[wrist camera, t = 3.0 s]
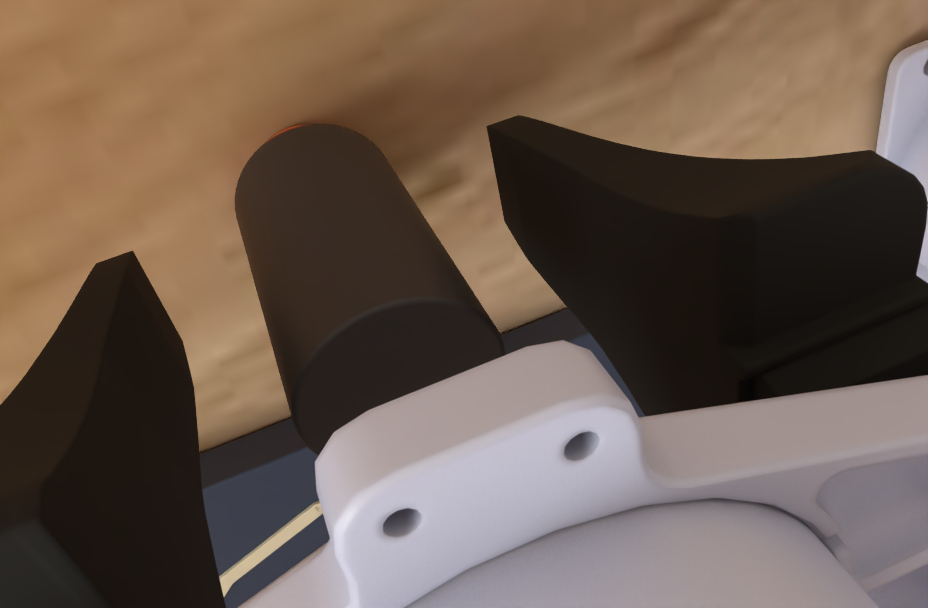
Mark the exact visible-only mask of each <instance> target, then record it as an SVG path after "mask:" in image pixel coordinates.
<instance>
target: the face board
mask: <svg viewBox="0 0 928 608" xmlns="http://www.w3.org/2000/svg"><path fill="white" fill-rule="evenodd" d="M500 336H501V338H502V341H503V344H504V347H505V354H506V355H507V354H510V353H512V352H515V351H517V350H520V349H522V348H525V347H527V346H533V345H539V344H544V343H550V342H555V341H561V340H564V341H566V342H569V343H572V344H575V345H577V346H580V347H583V348H586V349H589V350H590V351H591V352H592V353H593V354H594V356H595V357H596V358H597V360H598V361H599V362H600V363H601V365H602V366H603V367H604V369H605V370H606V371H607V372H608V374H609V375H610V376H611V378H612V379H613V380H614V381H615V383H616V384H617V385H618V387H619V388H620V389H621V390H622V392H623V393H624V394H625V396H626V397H627V398H628V399H629V401H630V402H631V404H632V406H633V408H634V410H635V412H636V414H637V416H638V418H639V417H645V415H644V414H643V412H642V410H641V409H640V407H639V406H638V404H637V402H636V401H635V399H634V398H633V396H632V394H631V393H630V391H629V389H628V388H627V386H626V385H625V383H624V382H623V380H622V379H621V377H620V376H619V374H618V373H617V371H616V369H615V368H614V366H613V365H612V363H611V362H610V360H609V359H608V357H607V356H606V354H605V353H604V351H603V350H602V348H601V347H600V346H599V345H598V343H597V342H596V341H595V339H594V338H593V337H592V335H591V334H590V333H589V332H588V330H587V329H586V328H585V327H584V326H583V325H582V323H581V322H580V321H579V320H578V319H577V318H576V316H575V315H574V314H573V313H572V312H571V310H570V309H569V308H567V309H565V310H562V311H560V312H557V313H555V314H552V315H550V316H547V317H545V318H542V319H540V320H537V321H535V322H532V323H529V324H527V325H524V326H522V327H519V328H517V329H514V330H512V331H509V332H507V333H504V334H502V335H500ZM199 455H200V468H201V481H202V492H203V499H204V507H205V513H206V518H207V523H208V528H209V533H210V538H211V542H212V547H213V552H214V557H215V561H216V566H217V570H218V574H219V579H220V583H221V587H222V592H223V596H224V601H225V605H226V608H237V607H239V606H240V605H242V604H243V603H244V602H246V601H247V600H248V599H250V598H251V597H253V596H254V595H255V594H257V593H258V592H259V591H261V590H262V589H264V588H265V587H266V586H268V585H269V584H270V583H272V582H273V581H275V580H276V579H277V578H279V577H280V576H281V575H283V574H284V573H286V572H287V571H288V570H290V569H291V568H292V567H294V566H295V565H297V564H298V563H299V562H301V561H302V560H303V559H305V558H306V557H308V556H309V555H310V554H312V553H313V552H314V551H316V550H317V549H319V548H320V547H321V546H323V545H324V544H325V543H327V542H328V541H329V539H330V536H329V533H328V529H327V526H326V522H325V519H324V515H323V512H322V508H321V505H320V501H319V498H318V494H317V490H316V475H315V461H316V459H317V458H318V455H316V454H315V453H314V452H313V451H312V450H310V449H309V448H308V447H307V445H306V444H305V443H304V442H303V441H302V439H301V438H300V436H299V434H298V433H297V431H296V428H295V425H294V423H293V419H292V418H290V419H287V420H284V421H282V422H279V423H277V424H274V425H272V426H269V427H267V428H264V429H262V430H259V431H257V432H254V433H252V434H249V435H247V436H244V437H242V438H239V439H236V440H234V441H231V442H229V443H226V444H224V445H221V446H219V447H216V448H214V449H211V450H209V451H206V452H204V453H201V454H199Z"/></svg>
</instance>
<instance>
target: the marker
mask: <svg viewBox="0 0 928 608" xmlns="http://www.w3.org/2000/svg"><path fill="white" fill-rule="evenodd" d="M235 211H236V217H237V221H238V224H239V228H240V232H241V235H242V239H243V242H244V246H245V250H246V253H247V257H248V261H249V264H250V268H251V271H252V275H253V279H254V282H255V286H256V289H257V293H258V297H259V300H260V304H261V308H262V311H263V315H264V318H265V322H266V326H267V329H268V333H269V336H270V340H271V344H272V347H273V351H274V354H275V358H276V362H277V365H278V369H279V373H280V376H281V380H282V383H283V387H284V391H285V394H286V398H287V401H288V405H289V409H290V412H291V416H292V419H293V423H294V425H295V428H296V431H297V433H298V434H299V436H300V438H301V439H302V441H303V442H304V443H305V444H306V445H307V447H308V448H309V449H310V450H312V451H313V452H314V453H315V454H316V455H318V456H319V455H320V453H321V451H322V450H323V448H324V447H325V445H326V444H327V442H328V440H329V439H330V437H331V436H332V434H333V433H334V432H335V431H336V430H338V429H340V428H341V427H343V426H344V425H346V424H347V423H349V422H351V421H352V420H354V419H355V418H357V417H358V416H360V415H361V414H363V413H365V412H366V411H368V410H370V409H372V408H375V407H377V406H380V405H382V404H385V403H387V402H390V401H392V400H395V399H397V398H400V397H402V396H405V395H407V394H410V393H412V392H415V391H417V390H420V389H422V388H425V387H427V386H430V385H432V384H435V383H437V382H440V381H442V380H445V379H447V378H450V377H452V376H455V375H457V374H460V373H462V372H465V371H467V370H470V369H472V368H475V367H477V366H480V365H482V364H485V363H487V362H490V361H492V360H495V359H497V358H500V357H502V356H505V355H506V354H505V347H504V344H503V341H502V338H501V336H500V334H499V332H498V330H497V328H496V326H495V325H494V323H493V322H492V320H491V319H490V317H489V316H488V314H487V313H486V311H485V310H484V308H483V307H482V305H481V303H480V302H479V300H478V299H477V297H476V296H475V294H474V293H473V291H472V290H471V288H470V287H469V285H468V284H467V282H466V280H465V279H464V277H463V276H462V274H461V273H460V271H459V270H458V268H457V267H456V265H455V264H454V262H453V261H452V259H451V257H450V256H449V254H448V253H447V251H446V250H445V248H444V247H443V245H442V244H441V242H440V241H439V239H438V237H437V236H436V234H435V233H434V231H433V230H432V228H431V227H430V225H429V224H428V222H427V221H426V219H425V218H424V216H423V214H422V213H421V211H420V210H419V208H418V207H417V205H416V204H415V202H414V201H413V199H412V198H411V196H410V195H409V193H408V191H407V190H406V188H405V187H404V185H403V184H402V182H401V181H400V179H399V178H398V176H397V175H396V173H395V172H394V170H393V168H392V167H391V165H390V164H389V162H388V161H387V159H386V158H385V156H384V155H383V154H382V152H381V151H380V150H379V148H378V147H377V146H376V145H375V144H374V143H373V142H371V141H370V140H369V139H367V138H366V137H365V136H363V135H361V134H359V133H357V132H356V131H353V130H350V129H348V128H345V127H341V126H337V125H329V124H312V125H297V126H293V127H289V128H286V129H284V130H282V131H280V132H278V133H276V134H275V135H274V136H272V137H271V138H270V139H269V140H268V141H267V142H266V143H265V144H264V145H262V146H261V147H260V148H259V149H258V150H257V151H256V152H255V153H254V154H253V156H252V157H251V158H250V159H249V161H248V162H247V164H246V165H245V167H244V169H243V170H242V173H241V175H240V177H239V180H238V184H237V187H236V193H235Z"/></svg>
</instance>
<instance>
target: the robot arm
mask: <svg viewBox="0 0 928 608" xmlns="http://www.w3.org/2000/svg"><path fill="white" fill-rule="evenodd" d="M926 62H927V63H926ZM925 63H926V64H925ZM487 131H488V136H489V141H490V147H491V152H492V157H493V162H494V168H495V173H496V178H497V184H498V189H499V194H500V200H501V205H502V210H503V215H504V221H505V223H506V225H507V226H508V228H509V230H510V231H511V233H512V235H513V236H514V238H515V240H516V241H517V243H518V245H519V246H520V248H521V249H522V251H523V253H524V254H525V256H526V257H527V259H528V260H529V262H530V263H531V264H532V265H533V267H534V268H535V269H536V270H537V271H538V273H539V274H540V275H541V276H542V277H543V279H544V280H545V281H546V282H547V283H548V285H549V286H550V287H551V288H552V289H553V291H554V292H555V293H556V294H557V295H558V296H559V298H560V299H561V300H562V301H563V302H564V303H565V305H566V306H567V307H568V308H569V309H570V310H571V312H572V313H573V314H574V315H575V316H576V318H577V319H578V320H579V321H580V322H581V323H582V325H583V326H584V327H585V328H586V329H587V330H588V332H589V333H590V334H591V335H592V337H593V338H594V339H595V341H596V342H597V343H598V345H599V346H600V347H601V348H602V350H603V351H604V353H605V354H606V356H607V357H608V359H609V360H610V362H611V363H612V365H613V366H614V368H615V369H616V371H617V373H618V374H619V376H620V377H621V379H622V380H623V382H624V383H625V385H626V386H627V388H628V389H629V391H630V393H631V394H632V396H633V398H634V399H635V401H636V402H637V404H638V406H639V407H640V409H641V410H642V412H643V414H644V415H645V417H639V418H638V416H637V414H636V412H635V410H634V408H633V406H632V404H631V402H630V401H629V399H628V398H627V397H626V396H625V394H624V393H623V392H622V390H621V389H620V388H619V387H618V385H617V384H616V383H615V381H614V380H613V379H612V378H611V376H610V375H609V374H608V372H607V371H606V370H605V369H604V367H603V366H602V365H601V363H600V362H599V361H598V360H597V358H596V357H595V356H594V354H593V353H592V352H591V351H590V350H589V349H586V348H583V347H580V346H577V345H575V344H572V343H569V342H566V341H564V340H561V341H555V342H550V343H544V344H539V345H533V346H527V347H525V348H522V349H520V350H517V351H515V352H512V353H510V354H507V355H505V356H502V357H500V358H497V359H495V360H492V361H490V362H487V363H485V364H482V365H480V366H477V367H475V368H472V369H470V370H467V371H465V372H462V373H460V374H457V375H455V376H452V377H450V378H447V379H445V380H442V381H440V382H437V383H435V384H432V385H430V386H427V387H425V388H422V389H420V390H417V391H415V392H412V393H410V394H407V395H405V396H402V397H400V398H397V399H395V400H392V401H390V402H387V403H385V404H382V405H380V406H377V407H375V408H372V409H370V410H368V411H366V412H365V413H363V414H361V415H360V416H358V417H357V418H355V419H354V420H352V421H351V422H349V423H347V424H346V425H344V426H343V427H341V428H340V429H338V430H336V431H335V432H334V433H333V434H332V436H331V437H330V439H329V440H328V442H327V444H326V445H325V447H324V448H323V450H322V451H321V453H320V455H319V456H318V458H317V459H316V461H315V475H316V490H317V494H318V498H319V501H320V505H321V508H322V512H323V515H324V519H325V522H326V526H327V529H328V533H329V536H330V539H329V541H328V542H327V543H325V544H324V545H323V546H321V547H320V548H319V549H317V550H316V551H314V552H313V553H312V554H310V555H309V556H308V557H306V558H305V559H303V560H302V561H301V562H299V563H298V564H297V565H295V566H294V567H292V568H291V569H290V570H288V571H287V572H286V573H284V574H283V575H281V576H280V577H279V578H277V579H276V580H275V581H273V582H272V583H270V584H269V585H268V586H266V587H265V588H264V589H262V590H261V591H259V592H258V593H257V594H255V595H254V596H253V597H251V598H250V599H248V600H247V601H246V602H244V603H243V604H242V605H240V606H239V607H237V608H928V40H926V41H923V42H920V43H917V44H915V45H912V46H909V47H907V48H905V49H904V50H902V51H900V52H899V53H898V54H897V55H896V56H895V57H894V59H893V60H892V62H891V63H890V66H889V69H888V72H887V79H886V86H885V93H884V99H883V106H882V113H881V120H880V126H879V133H878V140H877V147H876V153H875V152H873V151H871V150H867V151H858V152H850V153H842V154H833V155H825V156H816V157H806V158H787V159H721V158H705V157H693V156H686V155H678V154H670V153H663V152H657V151H651V150H646V149H641V148H637V147H632V146H628V145H623V144H619V143H615V142H611V141H607V140H603V139H600V138H596V137H593V136H589V135H586V134H582V133H579V132H576V131H572V130H569V129H566V128H563V127H559V126H556V125H553V124H550V123H546V122H543V121H540V120H536V119H533V118H529V117H524V116H519V115H518V116H515V117H512V118H509V119H506V120H503V121H500V122H498V123H495V124H492V125H489V126H487ZM0 608H226V605H225V601H224V596H223V592H222V587H221V583H220V579H219V574H218V570H217V566H216V561H215V557H214V552H213V547H212V542H211V538H210V533H209V528H208V523H207V518H206V513H205V507H204V499H203V492H202V481H201V468H200V455H199V442H198V429H197V417H196V406H195V395H194V386H193V382H192V378H191V373H190V369H189V365H188V361H187V357H186V353H185V349H184V345H183V341H182V339H181V337H180V336H179V334H178V332H177V330H176V328H175V326H174V325H173V323H172V321H171V319H170V317H169V316H168V314H167V312H166V310H165V308H164V307H163V305H162V303H161V301H160V299H159V297H158V296H157V294H156V292H155V290H154V288H153V287H152V285H151V283H150V281H149V279H148V278H147V276H146V274H145V272H144V270H143V268H142V267H141V265H140V263H139V261H138V259H137V258H136V256H135V254H134V252H133V251H130V252H128V253H125V254H122V255H119V256H116V257H113V258H110V259H108V260H105V261H102V262H99V263H96V265H95V266H94V268H93V269H92V271H91V272H90V274H89V275H88V277H87V279H86V281H85V282H84V284H83V286H82V287H81V289H80V291H79V293H78V294H77V296H76V298H75V300H74V301H73V303H72V305H71V306H70V308H69V310H68V311H67V313H66V315H65V316H64V318H63V320H62V321H61V323H60V325H59V326H58V328H57V330H56V331H55V333H54V334H53V336H52V337H51V339H50V340H49V342H48V343H47V345H46V346H45V347H44V349H43V350H42V352H41V353H40V355H39V356H38V358H37V359H36V360H35V362H34V363H33V365H32V366H31V368H30V369H29V371H28V372H27V373H26V375H25V376H24V377H23V379H22V380H21V381H20V383H19V384H18V385H17V386H16V388H15V389H14V390H13V391H12V392H11V394H10V395H9V396H8V397H7V398H6V399H5V401H4V402H3V403H2V404H1V405H0Z"/></svg>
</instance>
